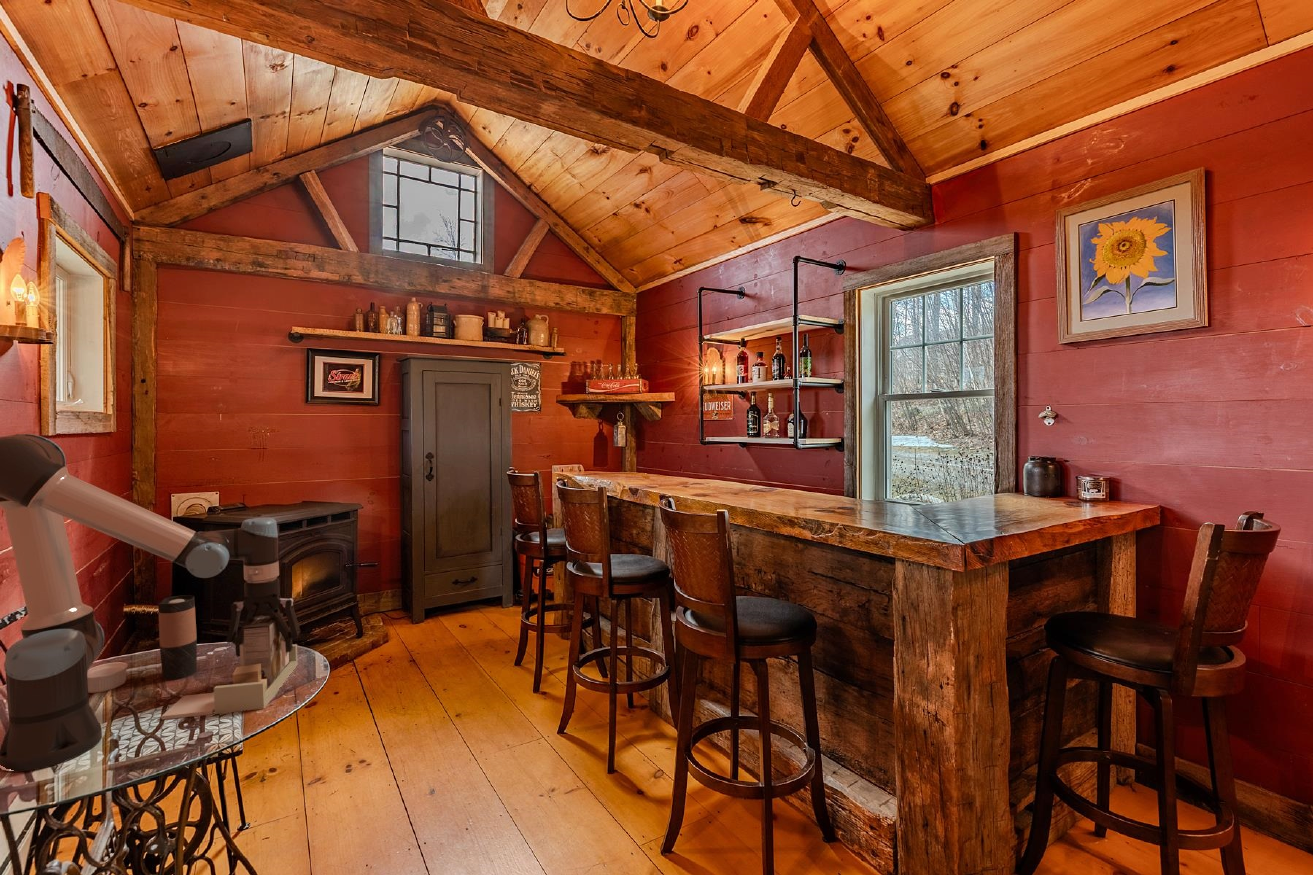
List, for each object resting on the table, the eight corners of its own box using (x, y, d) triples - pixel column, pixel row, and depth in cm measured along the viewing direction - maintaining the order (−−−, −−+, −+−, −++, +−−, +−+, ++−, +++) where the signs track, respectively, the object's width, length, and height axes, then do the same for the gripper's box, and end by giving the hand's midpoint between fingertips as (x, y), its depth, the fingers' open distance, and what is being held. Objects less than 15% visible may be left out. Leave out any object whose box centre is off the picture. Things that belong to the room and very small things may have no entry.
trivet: (161, 719, 138) (161, 716, 138) (184, 698, 148) (183, 695, 148) (212, 714, 140) (212, 710, 140) (231, 694, 150) (231, 690, 150)
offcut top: (233, 691, 143) (232, 674, 143) (236, 683, 147) (236, 667, 147) (258, 687, 145) (257, 670, 145) (261, 679, 150) (260, 663, 149)
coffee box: (258, 674, 161) (256, 614, 160) (286, 672, 162) (283, 612, 161) (244, 690, 152) (241, 626, 151) (272, 687, 153) (270, 624, 152)
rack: (214, 713, 140) (213, 688, 140) (256, 669, 164) (255, 647, 163) (263, 708, 143) (262, 683, 142) (297, 665, 166) (296, 644, 166)
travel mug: (203, 672, 162) (200, 597, 161) (168, 683, 156) (164, 606, 155) (190, 665, 166) (187, 593, 165) (156, 676, 160) (152, 600, 159)
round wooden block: (131, 685, 155) (130, 668, 155) (84, 698, 148) (83, 680, 148) (124, 675, 161) (123, 659, 161) (78, 687, 154) (77, 670, 154)
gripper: (206, 586, 149) (210, 676, 151) (303, 580, 155) (306, 667, 156) (220, 577, 157) (224, 664, 158) (312, 572, 162) (315, 655, 163)
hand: (265, 665), depth 157 cm, fingers open, 9 cm apart
